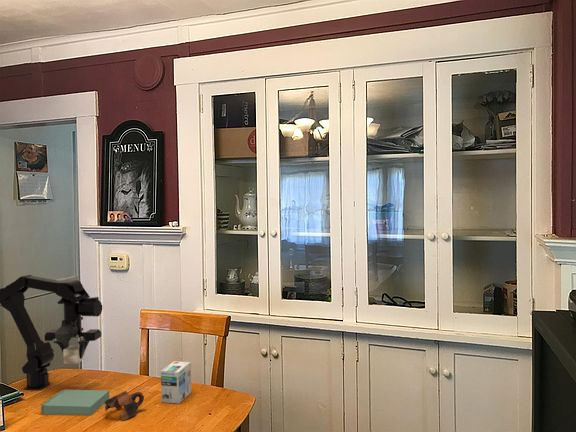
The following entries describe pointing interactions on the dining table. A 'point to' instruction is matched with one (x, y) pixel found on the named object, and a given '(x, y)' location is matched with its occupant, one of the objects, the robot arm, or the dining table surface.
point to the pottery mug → (125, 403)
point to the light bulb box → (176, 382)
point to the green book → (75, 402)
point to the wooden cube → (72, 355)
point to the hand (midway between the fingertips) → (73, 358)
